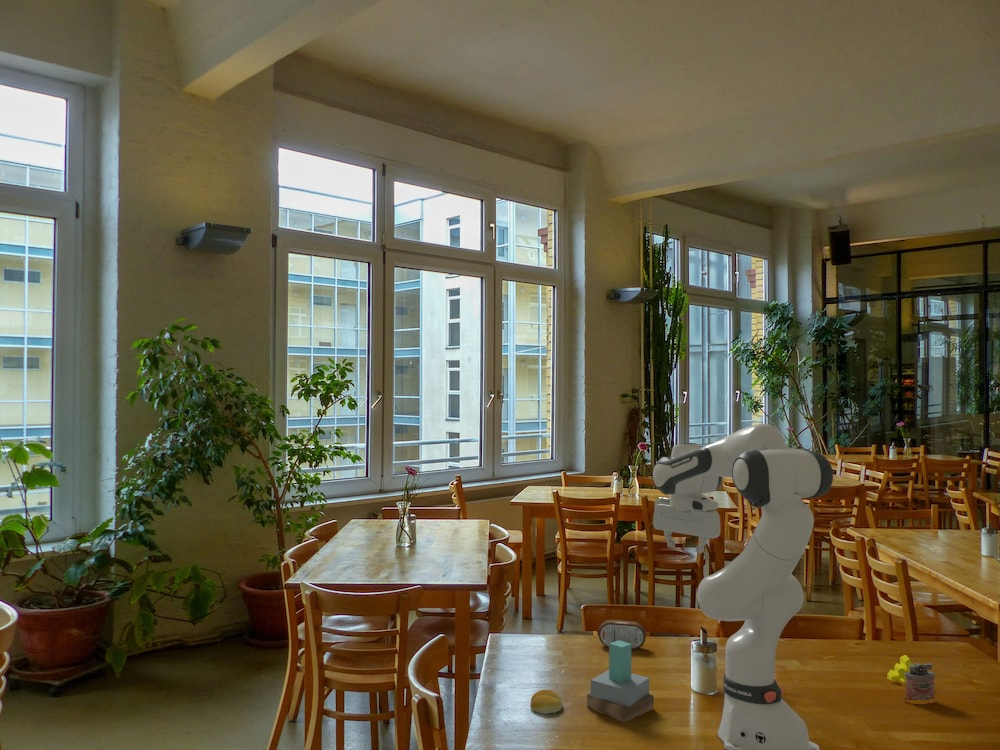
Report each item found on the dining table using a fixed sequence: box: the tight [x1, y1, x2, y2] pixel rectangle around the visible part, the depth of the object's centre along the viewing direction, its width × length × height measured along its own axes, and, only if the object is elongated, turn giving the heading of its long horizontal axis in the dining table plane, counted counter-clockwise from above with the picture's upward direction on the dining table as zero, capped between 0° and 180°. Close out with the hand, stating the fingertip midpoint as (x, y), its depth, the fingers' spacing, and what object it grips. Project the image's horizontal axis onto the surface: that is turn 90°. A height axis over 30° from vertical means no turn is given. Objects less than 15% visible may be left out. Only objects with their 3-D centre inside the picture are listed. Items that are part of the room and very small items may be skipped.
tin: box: [597, 619, 647, 650], centre depth 246 cm, size 15×3×8 cm, turn 80°
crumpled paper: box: [886, 654, 915, 683], centre depth 220 cm, size 6×8×8 cm
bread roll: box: [529, 689, 564, 715], centre depth 199 cm, size 8×9×4 cm
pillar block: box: [608, 640, 632, 683], centre depth 199 cm, size 4×4×9 cm
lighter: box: [905, 662, 936, 700], centre depth 205 cm, size 8×3×10 cm, turn 99°
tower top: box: [590, 669, 650, 707], centre depth 199 cm, size 11×11×4 cm
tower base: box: [586, 691, 655, 723], centre depth 199 cm, size 12×12×4 cm
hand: (685, 549), depth 218 cm, fingers open, 8 cm apart
